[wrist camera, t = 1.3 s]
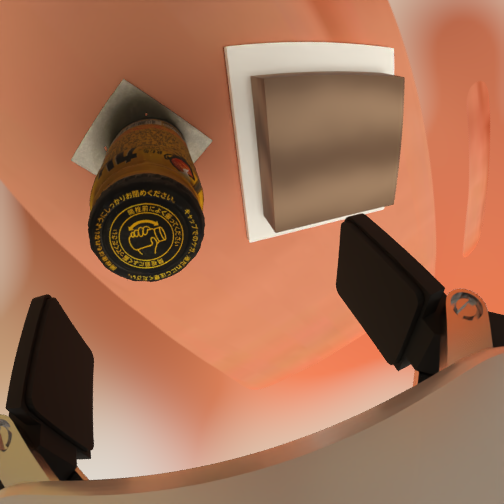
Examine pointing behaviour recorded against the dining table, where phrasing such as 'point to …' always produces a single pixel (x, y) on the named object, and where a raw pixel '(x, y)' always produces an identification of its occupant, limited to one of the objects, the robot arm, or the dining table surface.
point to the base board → (238, 72)
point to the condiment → (143, 186)
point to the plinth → (326, 143)
